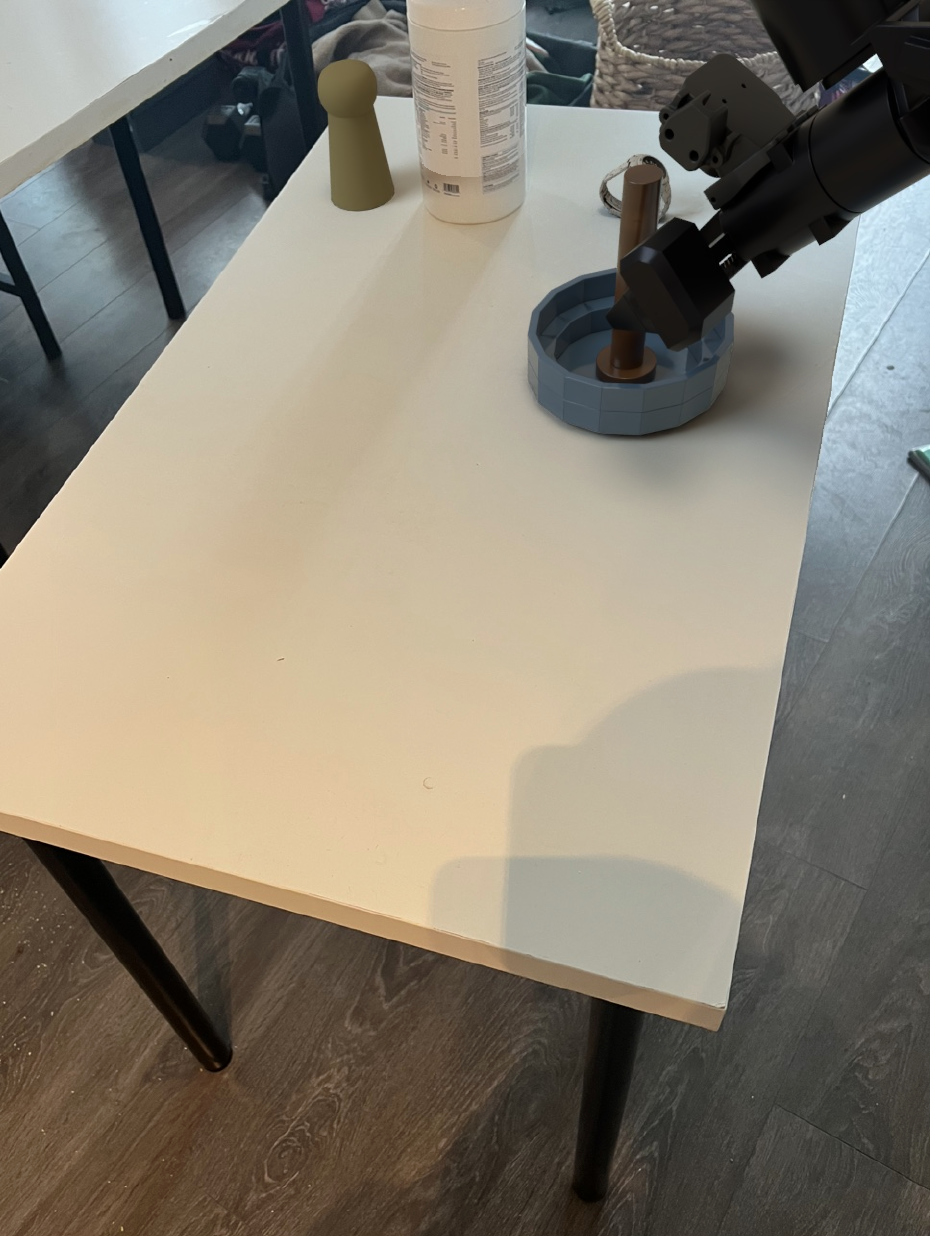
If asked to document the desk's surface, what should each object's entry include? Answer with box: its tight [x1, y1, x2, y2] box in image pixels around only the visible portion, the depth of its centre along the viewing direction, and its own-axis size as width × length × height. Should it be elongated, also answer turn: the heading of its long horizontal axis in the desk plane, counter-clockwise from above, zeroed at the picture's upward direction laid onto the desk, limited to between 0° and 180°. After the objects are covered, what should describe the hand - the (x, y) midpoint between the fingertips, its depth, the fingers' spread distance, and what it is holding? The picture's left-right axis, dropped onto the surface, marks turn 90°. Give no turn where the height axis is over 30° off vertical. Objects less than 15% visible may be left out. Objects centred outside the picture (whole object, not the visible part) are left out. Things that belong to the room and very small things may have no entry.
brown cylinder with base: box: [595, 164, 663, 384], centre depth 66 cm, size 4×4×14 cm
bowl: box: [527, 267, 735, 436], centre depth 71 cm, size 14×14×4 cm
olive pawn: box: [317, 58, 395, 212], centre depth 87 cm, size 6×6×11 cm
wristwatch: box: [598, 153, 672, 220], centre depth 83 cm, size 4×6×5 cm, turn 64°
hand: (649, 287), depth 66 cm, fingers open, 9 cm apart
